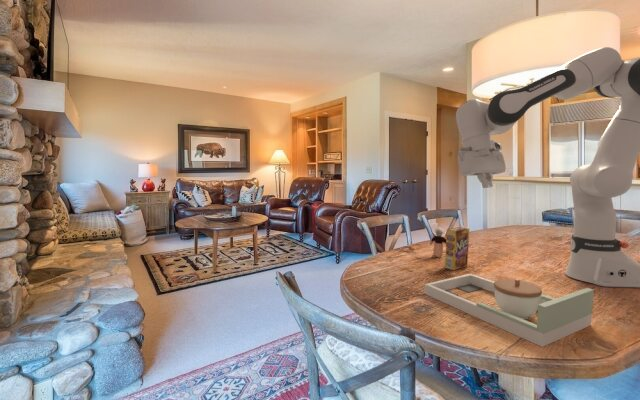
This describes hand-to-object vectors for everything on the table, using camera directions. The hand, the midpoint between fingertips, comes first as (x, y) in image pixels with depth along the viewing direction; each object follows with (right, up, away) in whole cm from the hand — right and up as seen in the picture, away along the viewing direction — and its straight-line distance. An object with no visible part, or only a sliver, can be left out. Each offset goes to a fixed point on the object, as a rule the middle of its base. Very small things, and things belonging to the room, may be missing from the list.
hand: (487, 187), depth 110 cm
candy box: (-3, -30, +18) cm, 35 cm away
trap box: (-7, -34, -17) cm, 38 cm away
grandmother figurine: (-5, -29, +32) cm, 44 cm away
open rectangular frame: (-2, -32, -26) cm, 41 cm away
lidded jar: (-4, -34, -22) cm, 41 cm away
